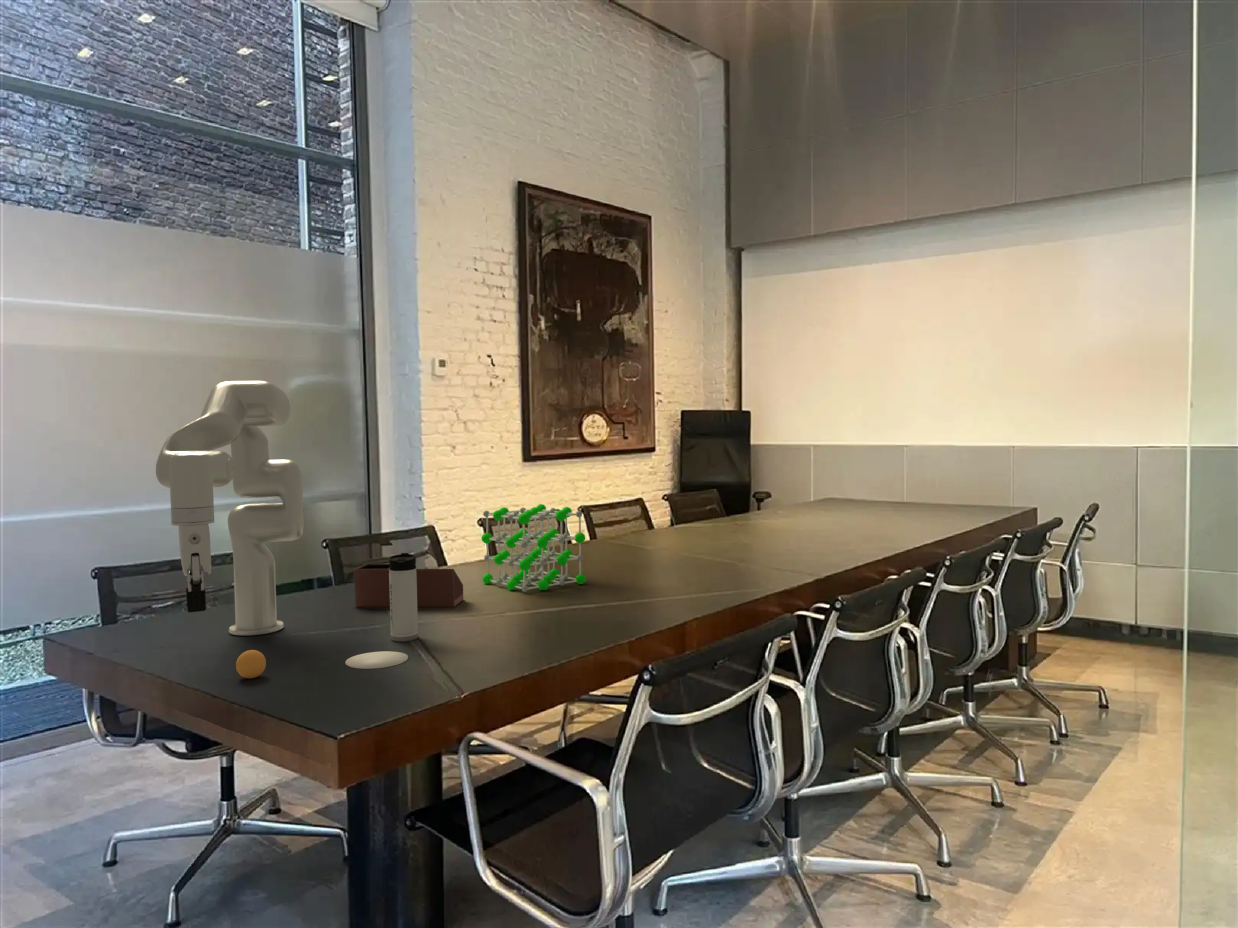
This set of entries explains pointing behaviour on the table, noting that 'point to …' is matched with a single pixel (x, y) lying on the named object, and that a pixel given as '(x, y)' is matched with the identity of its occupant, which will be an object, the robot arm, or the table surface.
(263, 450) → the robot arm
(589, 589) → the table surface
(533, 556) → the molecular structure model
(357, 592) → the desk organizer
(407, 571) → the travel mug
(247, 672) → the ball
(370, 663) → the disc
